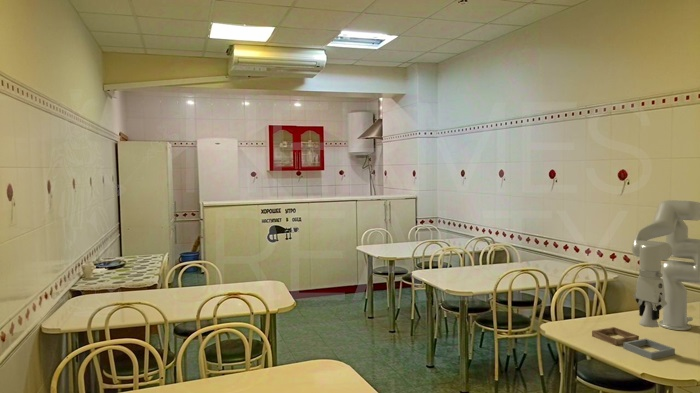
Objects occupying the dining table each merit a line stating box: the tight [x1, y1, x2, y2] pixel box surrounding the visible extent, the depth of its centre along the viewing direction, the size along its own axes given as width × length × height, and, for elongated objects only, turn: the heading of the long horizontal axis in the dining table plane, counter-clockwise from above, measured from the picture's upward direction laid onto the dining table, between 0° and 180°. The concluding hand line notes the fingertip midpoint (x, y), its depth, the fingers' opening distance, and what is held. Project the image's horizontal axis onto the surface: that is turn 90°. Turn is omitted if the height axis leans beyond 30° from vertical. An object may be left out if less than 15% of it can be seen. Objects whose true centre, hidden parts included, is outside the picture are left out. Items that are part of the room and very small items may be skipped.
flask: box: [638, 301, 660, 329], centre depth 204 cm, size 7×7×10 cm
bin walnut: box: [591, 326, 640, 346], centre depth 220 cm, size 13×13×2 cm
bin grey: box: [622, 338, 676, 360], centre depth 205 cm, size 13×13×2 cm
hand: (649, 317), depth 204 cm, fingers closed on flask, 5 cm apart
